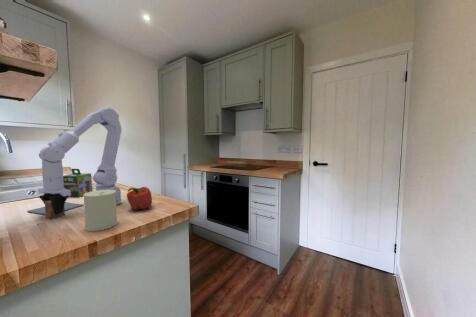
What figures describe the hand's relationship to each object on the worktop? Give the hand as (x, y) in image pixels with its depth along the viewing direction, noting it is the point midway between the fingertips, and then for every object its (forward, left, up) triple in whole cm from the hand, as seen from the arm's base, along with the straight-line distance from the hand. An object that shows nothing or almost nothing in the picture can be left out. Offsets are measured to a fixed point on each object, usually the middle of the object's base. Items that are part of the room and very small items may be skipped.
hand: (55, 212), depth 75 cm
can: (-25, +1, -2) cm, 25 cm away
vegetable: (-24, -17, -2) cm, 29 cm away
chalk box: (+25, -25, -2) cm, 35 cm away
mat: (+9, -6, -1) cm, 11 cm away
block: (0, 0, -1) cm, 1 cm away
